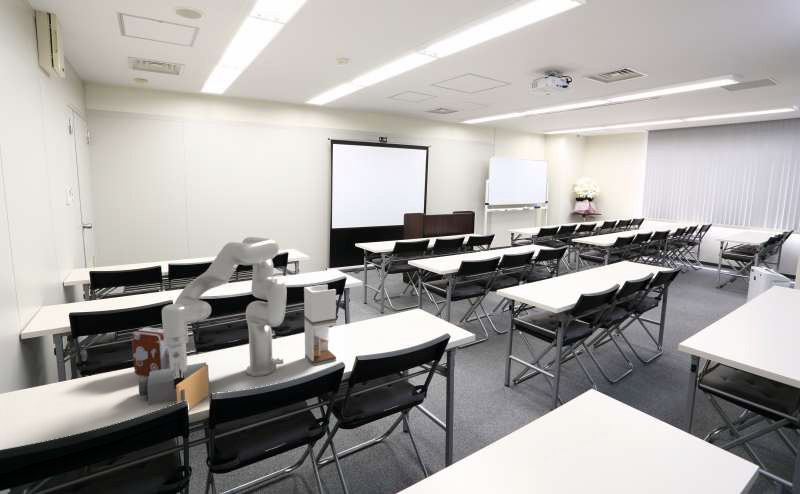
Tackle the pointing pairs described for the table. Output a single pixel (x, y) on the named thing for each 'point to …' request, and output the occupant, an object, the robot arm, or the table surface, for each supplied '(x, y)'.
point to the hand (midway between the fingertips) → (179, 387)
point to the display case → (319, 323)
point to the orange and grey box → (163, 384)
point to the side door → (194, 387)
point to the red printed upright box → (149, 351)
